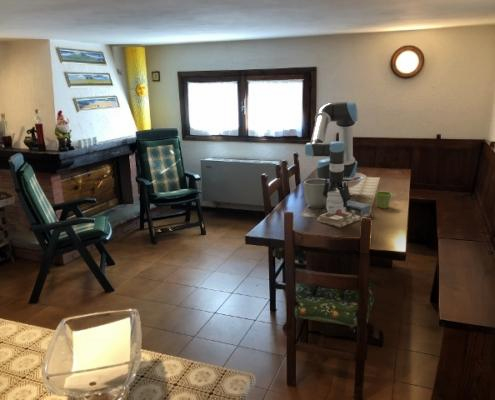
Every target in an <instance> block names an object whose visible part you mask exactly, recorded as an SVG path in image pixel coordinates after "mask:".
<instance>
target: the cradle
mask: <svg viewBox="0 0 495 400" xmlns="http://www.w3.org/2000/svg"><path fill="white" fill-rule="evenodd" d="M365 216H367V217H369V216H371V212H369V213H366V214H364V215H361V210H357V209H352V208H346V212H344V213H343V214H332V213H328V212H325V213H323V214H320V215H319V217H317V218H316V221H317V222H319V223H324V224H326V223H327V224H326V225H330V226H333V225H334V226H333V227H337V228H342V226H343V227H344V226H347V224H348V225H350V224H352V223H355V222H357V221H359V220H362V219H363V218H362V217H365ZM361 218H362V219H361ZM365 218H366V217H365Z"/></svg>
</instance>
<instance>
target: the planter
mask: <svg viewBox="0 0 495 400" xmlns="http://www.w3.org/2000/svg"><path fill="white" fill-rule="evenodd" d="M330 184H331V183H330ZM330 184H329V186H330ZM324 186H325V179H317V178H309V179H306V180H304V181H303V192H304V193H303V194H304V195H303V196H304V200H305V202H306V204H307V205H309V207H310V208H312V209H315V210H317V209H324V208H325V207H326V205H327V203H326V197H325V196H323V191H324ZM328 189H329V188H328Z"/></svg>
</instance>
